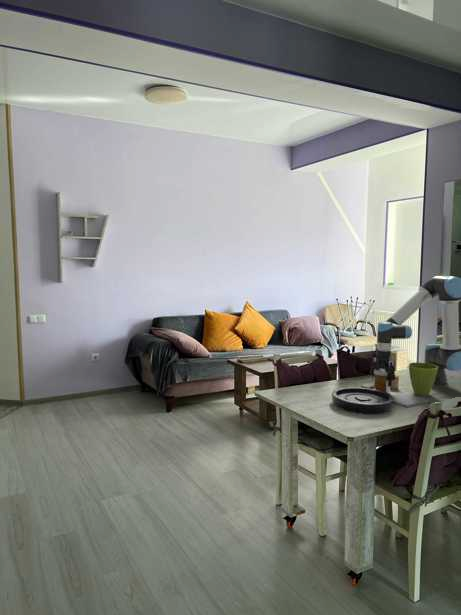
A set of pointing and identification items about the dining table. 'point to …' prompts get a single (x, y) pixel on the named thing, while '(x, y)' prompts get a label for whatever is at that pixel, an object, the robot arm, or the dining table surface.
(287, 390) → the dining table surface
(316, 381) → the dining table surface
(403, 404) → the slate board
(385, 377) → the disposable coffee cup
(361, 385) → the walnut block
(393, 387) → the light brown egg
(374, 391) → the round tray
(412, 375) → the flower pot
